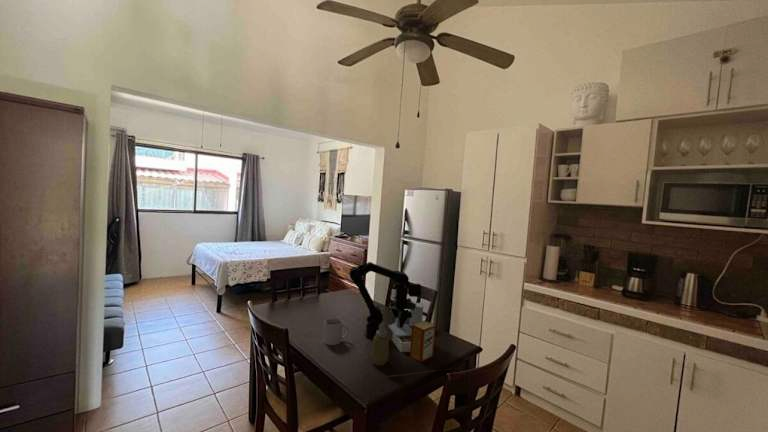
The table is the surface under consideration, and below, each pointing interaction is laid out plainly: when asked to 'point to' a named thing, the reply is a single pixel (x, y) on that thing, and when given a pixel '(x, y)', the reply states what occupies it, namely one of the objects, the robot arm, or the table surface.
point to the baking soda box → (422, 341)
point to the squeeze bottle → (380, 347)
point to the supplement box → (416, 314)
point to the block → (406, 339)
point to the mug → (333, 331)
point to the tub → (401, 344)
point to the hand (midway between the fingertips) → (398, 324)
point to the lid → (400, 329)
